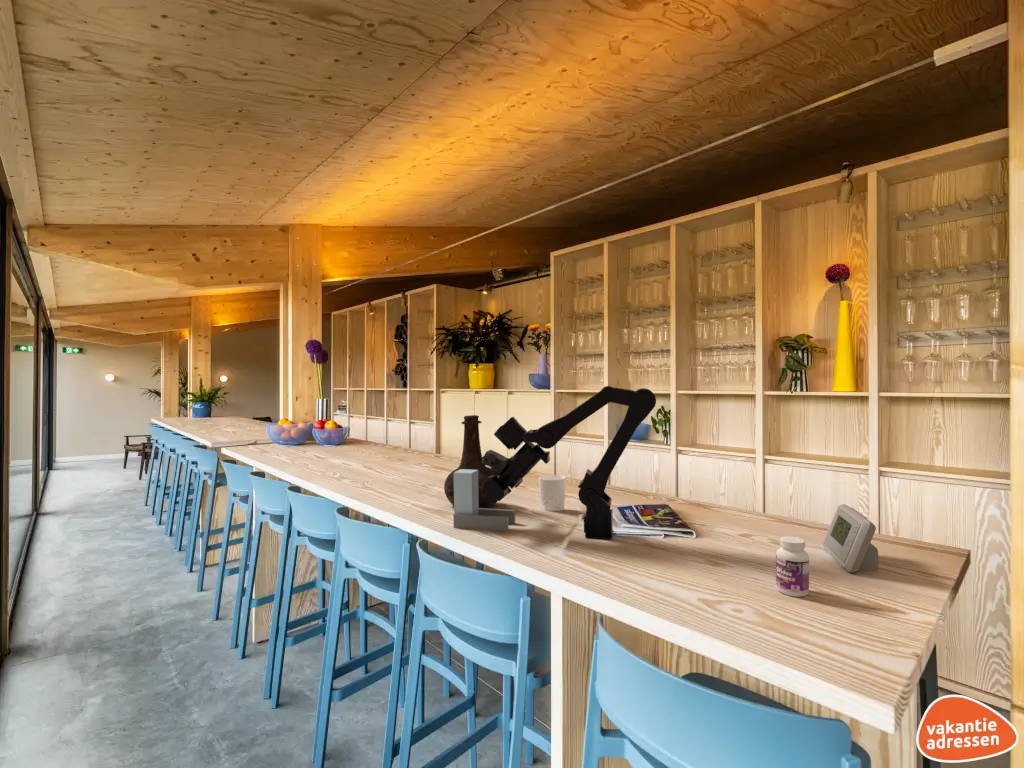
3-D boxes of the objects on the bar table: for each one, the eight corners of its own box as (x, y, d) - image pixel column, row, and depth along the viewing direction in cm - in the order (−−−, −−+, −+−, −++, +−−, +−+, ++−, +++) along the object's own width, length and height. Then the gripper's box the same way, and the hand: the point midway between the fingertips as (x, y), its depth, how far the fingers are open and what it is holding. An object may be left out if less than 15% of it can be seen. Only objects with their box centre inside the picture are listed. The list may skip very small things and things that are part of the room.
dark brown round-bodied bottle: (502, 515, 153) (500, 417, 153) (440, 515, 154) (438, 418, 153) (504, 500, 171) (503, 412, 171) (449, 500, 172) (447, 413, 171)
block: (478, 521, 144) (478, 469, 143) (472, 527, 139) (471, 473, 138) (461, 520, 145) (460, 469, 145) (454, 525, 140) (453, 472, 140)
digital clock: (822, 547, 122) (821, 501, 121) (869, 553, 118) (869, 504, 117) (828, 572, 107) (828, 519, 107) (882, 579, 103) (882, 524, 103)
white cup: (566, 507, 160) (565, 474, 160) (566, 515, 153) (565, 480, 152) (539, 507, 161) (539, 474, 161) (538, 514, 153) (537, 479, 153)
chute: (515, 526, 142) (515, 510, 142) (507, 534, 135) (507, 517, 135) (464, 522, 146) (464, 507, 146) (453, 530, 139) (453, 514, 139)
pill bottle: (771, 591, 98) (771, 539, 98) (781, 583, 102) (781, 533, 102) (803, 600, 94) (803, 546, 94) (813, 591, 98) (813, 539, 98)
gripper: (510, 435, 148) (473, 474, 151) (489, 445, 130) (448, 489, 133) (538, 464, 146) (501, 503, 149) (521, 478, 128) (478, 522, 131)
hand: (482, 503), depth 141 cm, fingers closed
